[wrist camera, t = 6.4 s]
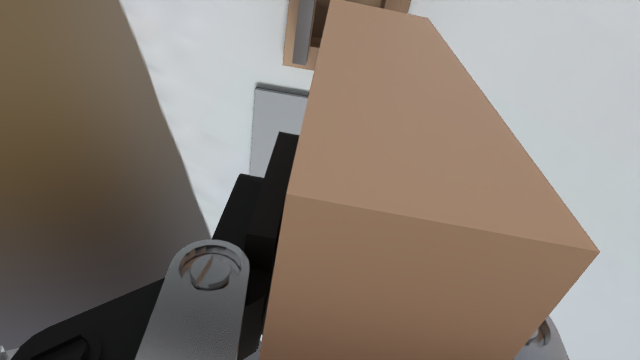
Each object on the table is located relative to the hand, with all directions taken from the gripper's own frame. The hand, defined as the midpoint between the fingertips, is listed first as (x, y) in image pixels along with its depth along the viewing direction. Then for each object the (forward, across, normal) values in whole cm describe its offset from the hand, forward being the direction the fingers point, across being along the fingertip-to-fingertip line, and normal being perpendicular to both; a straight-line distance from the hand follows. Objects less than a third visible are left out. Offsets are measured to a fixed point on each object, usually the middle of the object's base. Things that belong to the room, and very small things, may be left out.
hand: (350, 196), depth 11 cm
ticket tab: (+4, 0, 0) cm, 4 cm away
